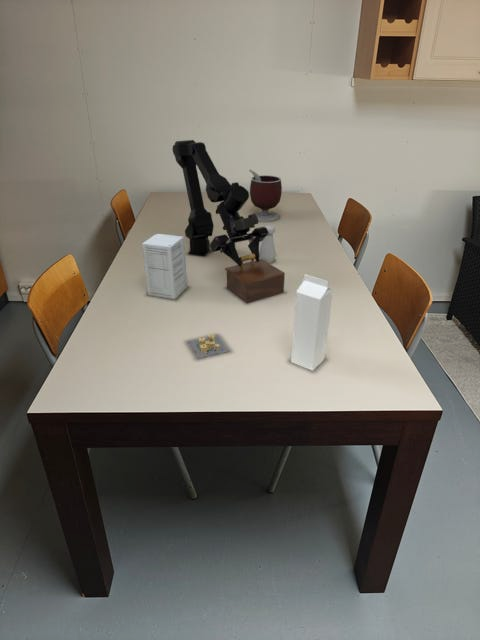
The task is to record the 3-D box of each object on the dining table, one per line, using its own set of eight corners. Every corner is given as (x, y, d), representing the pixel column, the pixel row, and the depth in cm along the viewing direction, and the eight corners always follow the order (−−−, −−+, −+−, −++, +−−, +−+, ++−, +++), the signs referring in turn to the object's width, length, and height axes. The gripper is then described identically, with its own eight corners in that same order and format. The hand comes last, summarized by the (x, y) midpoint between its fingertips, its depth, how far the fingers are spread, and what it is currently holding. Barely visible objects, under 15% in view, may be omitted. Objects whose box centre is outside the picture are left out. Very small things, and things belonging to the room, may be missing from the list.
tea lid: (225, 269, 142) (225, 257, 139) (261, 261, 148) (261, 249, 146) (246, 284, 132) (247, 271, 130) (284, 274, 139) (285, 262, 137)
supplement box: (188, 287, 144) (185, 236, 136) (175, 300, 137) (171, 247, 128) (161, 282, 147) (156, 232, 139) (146, 295, 139) (141, 242, 131)
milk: (303, 351, 114) (310, 269, 103) (324, 359, 111) (335, 276, 100) (290, 362, 110) (297, 278, 99) (312, 371, 107) (322, 285, 96)
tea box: (226, 288, 144) (226, 270, 141) (262, 279, 150) (262, 262, 147) (246, 303, 135) (246, 285, 132) (283, 292, 142) (284, 274, 139)
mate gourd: (285, 216, 209) (288, 170, 199) (270, 224, 199) (272, 177, 189) (256, 210, 216) (257, 166, 206) (240, 217, 206) (241, 172, 196)
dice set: (201, 354, 112) (201, 348, 111) (195, 344, 116) (194, 337, 115) (221, 350, 114) (221, 343, 113) (213, 340, 118) (213, 333, 117)
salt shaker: (274, 265, 160) (276, 229, 154) (258, 263, 161) (259, 228, 155) (276, 258, 165) (278, 223, 159) (260, 257, 166) (261, 222, 160)
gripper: (213, 210, 132) (233, 258, 130) (266, 201, 141) (286, 246, 139) (201, 228, 142) (220, 274, 140) (252, 219, 151) (270, 261, 148)
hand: (249, 263), depth 141 cm, fingers open, 6 cm apart
